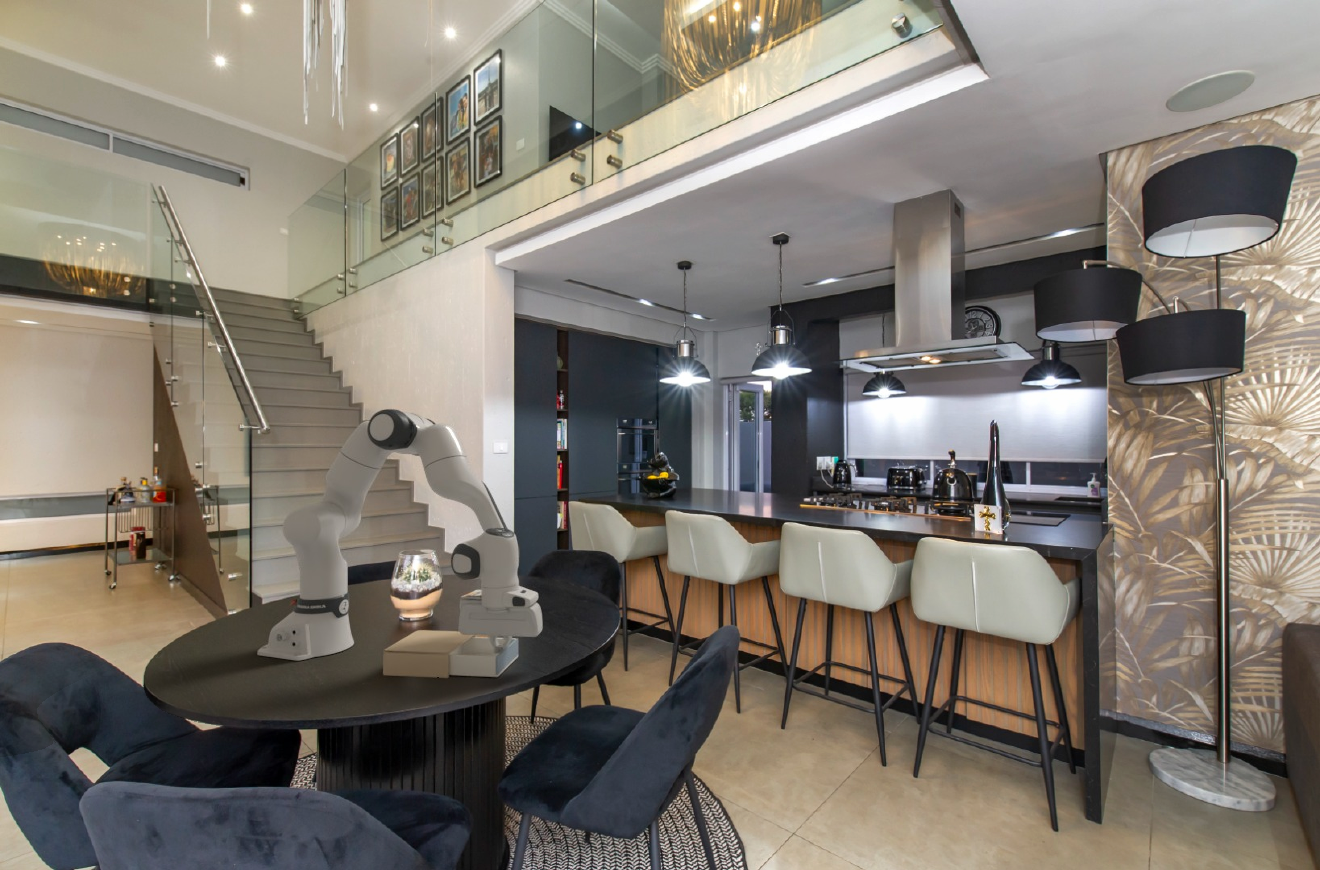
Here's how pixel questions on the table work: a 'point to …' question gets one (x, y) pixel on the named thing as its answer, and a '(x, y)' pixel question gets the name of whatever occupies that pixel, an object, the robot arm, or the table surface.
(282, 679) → the table surface
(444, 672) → the mailer sleeve
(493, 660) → the tray
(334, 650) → the robot arm
